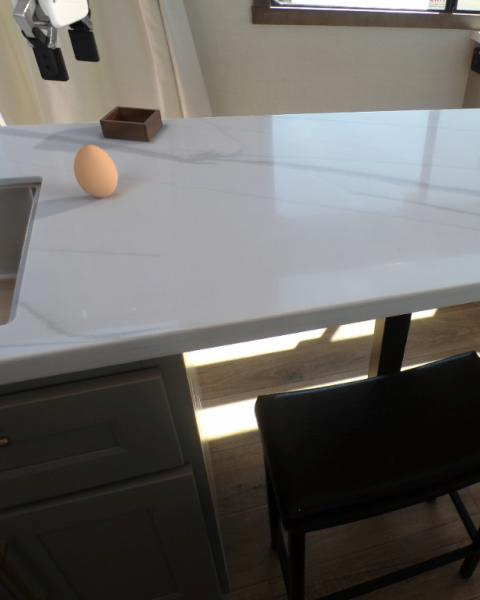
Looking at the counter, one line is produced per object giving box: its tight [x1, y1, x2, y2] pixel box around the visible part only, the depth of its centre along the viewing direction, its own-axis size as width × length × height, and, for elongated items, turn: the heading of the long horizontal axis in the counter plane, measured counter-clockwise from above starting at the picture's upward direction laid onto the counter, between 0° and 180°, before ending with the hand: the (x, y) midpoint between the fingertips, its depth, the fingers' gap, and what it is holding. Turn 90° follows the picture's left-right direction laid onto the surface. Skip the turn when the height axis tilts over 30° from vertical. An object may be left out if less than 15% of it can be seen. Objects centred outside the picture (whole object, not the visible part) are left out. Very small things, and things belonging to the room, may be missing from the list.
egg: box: [73, 144, 119, 199], centre depth 80 cm, size 6×6×8 cm
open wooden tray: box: [99, 105, 164, 143], centre depth 102 cm, size 8×8×3 cm
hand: (73, 70), depth 71 cm, fingers open, 9 cm apart
